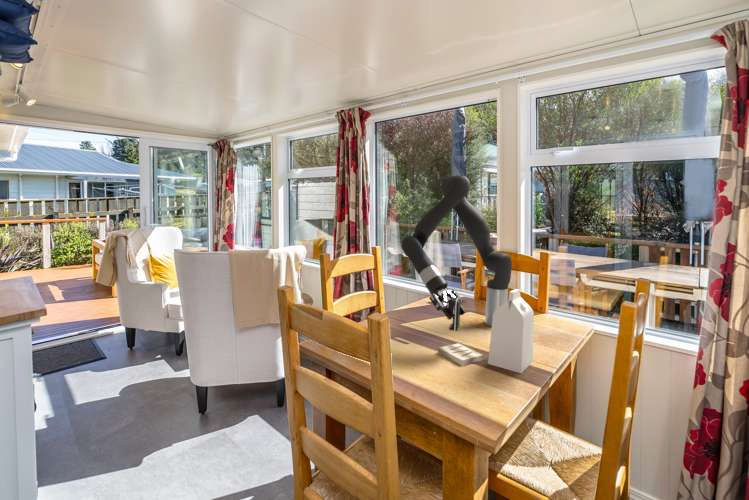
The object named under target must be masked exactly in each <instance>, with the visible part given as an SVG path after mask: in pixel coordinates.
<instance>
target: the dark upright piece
mask: <svg viewBox="0 0 749 500" xmlns="http://www.w3.org/2000/svg"><path fill="white" fill-rule="evenodd" d="M460 298H461V297H460ZM460 298H454V297H453V298H451V300H450V301H449V303H448V304H447V308H449V310H450V311H451V313H452V314H453V318H452V323H451V324H450V325H449V328H448V330H450V331H453V332H458V330H459V328H460V325H461V324H460V323H461V315H460V307H461V306H462V302H461V299H462V298H461V299H460Z"/></svg>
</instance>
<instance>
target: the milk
mask: <svg viewBox="0 0 749 500" xmlns="http://www.w3.org/2000/svg"><path fill="white" fill-rule="evenodd" d="M508 294H509V295H508V298H507V302H505V303H504V304H503V305H501V306H500V307H499V308H498V309H496V310H495V311H494V313H493V321H492V326H491V331H490V342H489V351H488V360H487V364H488V365H491V366H494V367H498V368H502V369H505V370H509V371H512V372H516V373H519V374H522V373H523V372H524V371H525V370H526V369H527V368H528V367H529V366H531V364H532V363H533V361H534V325H535V324H534V321H535V318H534V316H535V313H534V310H533V309H532V307H531V306H530V305H529V303H528V302H526V301H525V300H524V299H523V297H521V290H520V289H518V288H515V289H512V290H511V291H509V292H508Z"/></svg>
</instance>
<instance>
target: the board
mask: <svg viewBox="0 0 749 500" xmlns="http://www.w3.org/2000/svg"><path fill="white" fill-rule="evenodd" d="M437 349H438V351H437V353H438V354H440V355H442V356H444V357H445V358H447V359H448V360H451V361H452V362H454V363H456V364H458V365H460V366H461V367H463V366H467V365H470V364H475V363H479V362H482V361H484V357H485V356H484V354H482V353H480V352H478V351H477V350H475V349H473V348H470V347H468V346H466V345H464V344H462V343H459V342H457V343H453V344H449V345H444V346H440V347H437Z"/></svg>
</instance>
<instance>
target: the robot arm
mask: <svg viewBox="0 0 749 500" xmlns="http://www.w3.org/2000/svg"><path fill="white" fill-rule="evenodd" d="M440 190H441V193H442V194H443V198H442V199H440V201H439V202H437V204H435V205H434V206H433V207H432V208H430V209H429V210H428V211H427V212H425V213H424V215H423V216H422V218H421V219H420V220H419V221H418V222H417V224H416V225H415V227H414V230H413V231H414V232H413V234H412V235H407V236H404V237H403V239H402V240H401V242H400V245H401V246H400V247H401V249H402V252H403V254H404V255H405V256H406V257H407V258H408V259H409V260H410V262H411V263H412V266H413V267H414V270H415V271H416V272H417V274H418V276H419V277H420V279H421V281H422V282H423V284H424V286H425V288H426V289H427V291H428V292H429V294H430V296H429V300H430V302H431V304H432V305H433V306H434V308H435V309H436V311H441V312H443V314H444V315H445V317H446V318H447V320H452V319H453V314H452V313H451V311H450V310H449V308H448V304H449V301H450V300H451V298H453V297H454V298H460V299H461V303H462V302H463V299H462V298H461V296H460V295H459V292H457V291H456V289H455V288H452V289H449V288H448V285H449V284H448V281H447V280H446V279H445V278H444V276H443V275H442V273H441V271H439V269H438V268H437V267H436V266H435V264H434V263H433V261H432V260H431V259H430V257H429V256H428V254H427V253H426V251H425V250H424V247H425V245H426V244H427V241H429V238H430V237H431V235H432V234H433V232H435V230H436V229H437V227H438V226H439V225H440V223H441V222H442V221H443V220H444V219H445V218H446V216H447V215H448V214H449V213H450V212H451V211H452V210H454V212H455V213H456V215H457V217H458V218H459V220H460V222H461V224H462V225H463V227H464V230H465V231H466V232H467V234H468V236H469V238H470V239H471V241H472V244H474V246H475V248H476V250H477V252H478V253H479V256H480V259H481V261H482V263H483V265H484V267H485V268H486V269H487V270H488V271H489V272H492V273H494V277H493V278H492V279H489V280H488V281H487V283H486V297H485V298H486V302H485V317H484V318H485V319H484V324H485V325H487V326H489V327H492V321H493V313H494V311H495V310H496V309H498V308H499V307H500V306H501V305H503V304H504V303H505V302H507V301H508V299H509V295H508V294H509V292H508V291H509V286H510V285H509V284H510V283H511V282H510V281H511V278H512V269H513V268H512V267H513V261H512V257H511V255H509V254H508V253H503V252H498V251H496V250H495V248H494V247H493V245H492V243H491V240H490V238H491V237H490V236H491V228H490V226H489V224H488V221H487V220H486V218H485V217H484V215H483V214H482V212H480V211H479V210H478V209H477V208H476V207H475V206H474V205H473V204H472V203H470V201H468V199H467V198H466V196H467V195H469V192H470V190H471V182H470V180H469V179H468V178H467V176H464V175H448V176H445V177H444V178H443V179H442V180H441V183H440ZM465 313H466V310H465V309H464V307H463V306H462V305H461V307H460V316H463V315H465Z"/></svg>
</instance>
